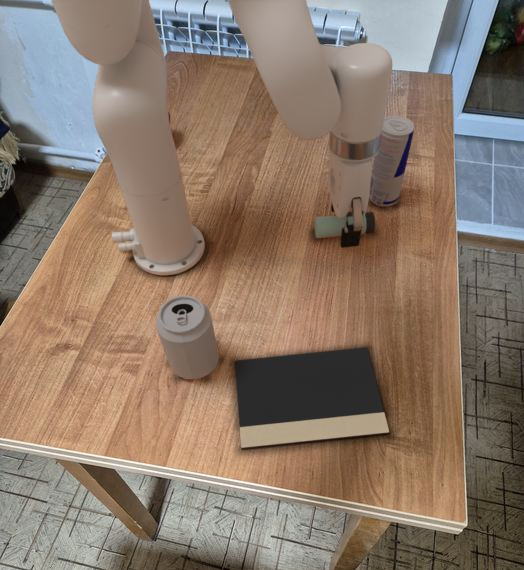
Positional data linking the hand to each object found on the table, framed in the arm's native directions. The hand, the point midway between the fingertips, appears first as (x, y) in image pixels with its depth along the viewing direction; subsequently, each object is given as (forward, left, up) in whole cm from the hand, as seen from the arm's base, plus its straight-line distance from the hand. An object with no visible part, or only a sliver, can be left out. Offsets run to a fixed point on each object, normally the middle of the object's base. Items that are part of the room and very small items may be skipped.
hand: (344, 227), depth 90 cm
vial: (0, 0, -1) cm, 1 cm away
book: (-11, -32, -1) cm, 34 cm away
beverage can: (+9, +8, -1) cm, 12 cm away
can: (-27, -24, -1) cm, 36 cm away
